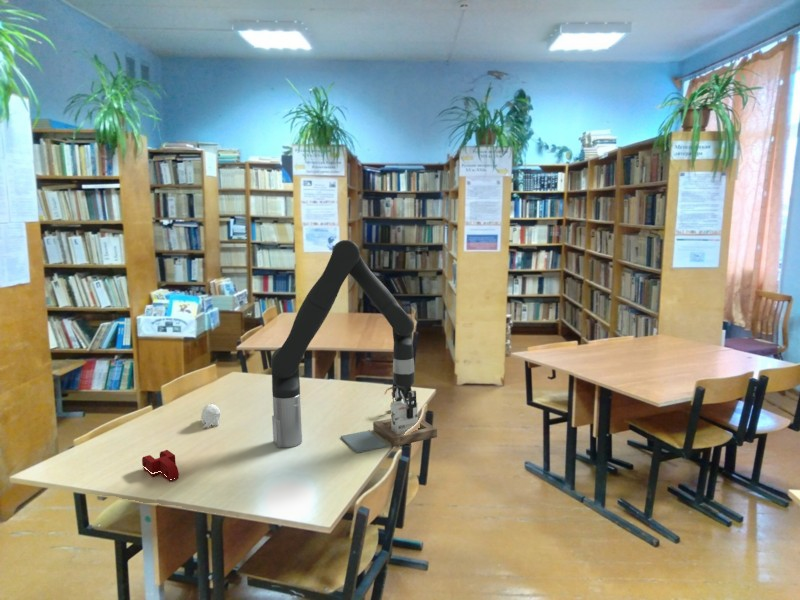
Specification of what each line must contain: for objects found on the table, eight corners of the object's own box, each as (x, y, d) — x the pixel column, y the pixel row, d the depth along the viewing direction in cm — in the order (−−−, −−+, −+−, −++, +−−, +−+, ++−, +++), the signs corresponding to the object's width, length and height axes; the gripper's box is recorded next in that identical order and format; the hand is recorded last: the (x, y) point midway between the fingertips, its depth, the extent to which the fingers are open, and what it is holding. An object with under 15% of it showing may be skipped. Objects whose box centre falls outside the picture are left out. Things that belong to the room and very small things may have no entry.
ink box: (412, 429, 198) (411, 398, 196) (418, 433, 194) (418, 402, 192) (390, 433, 194) (390, 401, 193) (396, 438, 190) (396, 405, 188)
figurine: (405, 409, 219) (405, 380, 218) (405, 414, 214) (405, 384, 212) (385, 409, 220) (384, 380, 218) (384, 414, 214) (383, 384, 212)
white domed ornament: (202, 407, 199) (196, 401, 209) (204, 430, 199) (197, 423, 209) (220, 404, 202) (212, 398, 212) (222, 426, 203) (214, 420, 213)
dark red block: (142, 470, 169) (141, 454, 168) (165, 462, 174) (164, 447, 173) (163, 487, 157) (161, 470, 157) (187, 478, 162) (185, 463, 162)
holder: (393, 446, 183) (393, 438, 182) (373, 429, 198) (373, 422, 197) (437, 437, 190) (437, 429, 190) (414, 421, 205) (414, 414, 205)
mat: (356, 453, 178) (356, 451, 178) (340, 437, 191) (340, 435, 191) (386, 446, 183) (386, 445, 183) (369, 431, 196) (369, 430, 196)
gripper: (385, 367, 195) (386, 410, 198) (403, 376, 183) (404, 422, 185) (404, 364, 199) (404, 406, 201) (422, 373, 186) (423, 418, 188)
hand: (404, 414), depth 193 cm, fingers open, 8 cm apart
